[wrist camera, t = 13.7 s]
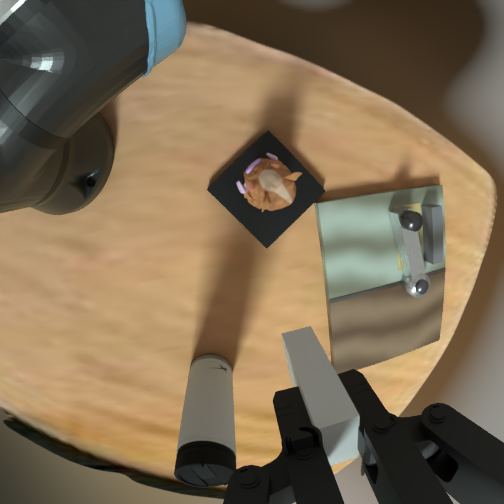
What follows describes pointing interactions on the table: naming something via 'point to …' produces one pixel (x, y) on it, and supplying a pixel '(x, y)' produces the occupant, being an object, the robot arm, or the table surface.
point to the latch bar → (410, 250)
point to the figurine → (266, 189)
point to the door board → (379, 276)
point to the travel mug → (207, 425)
